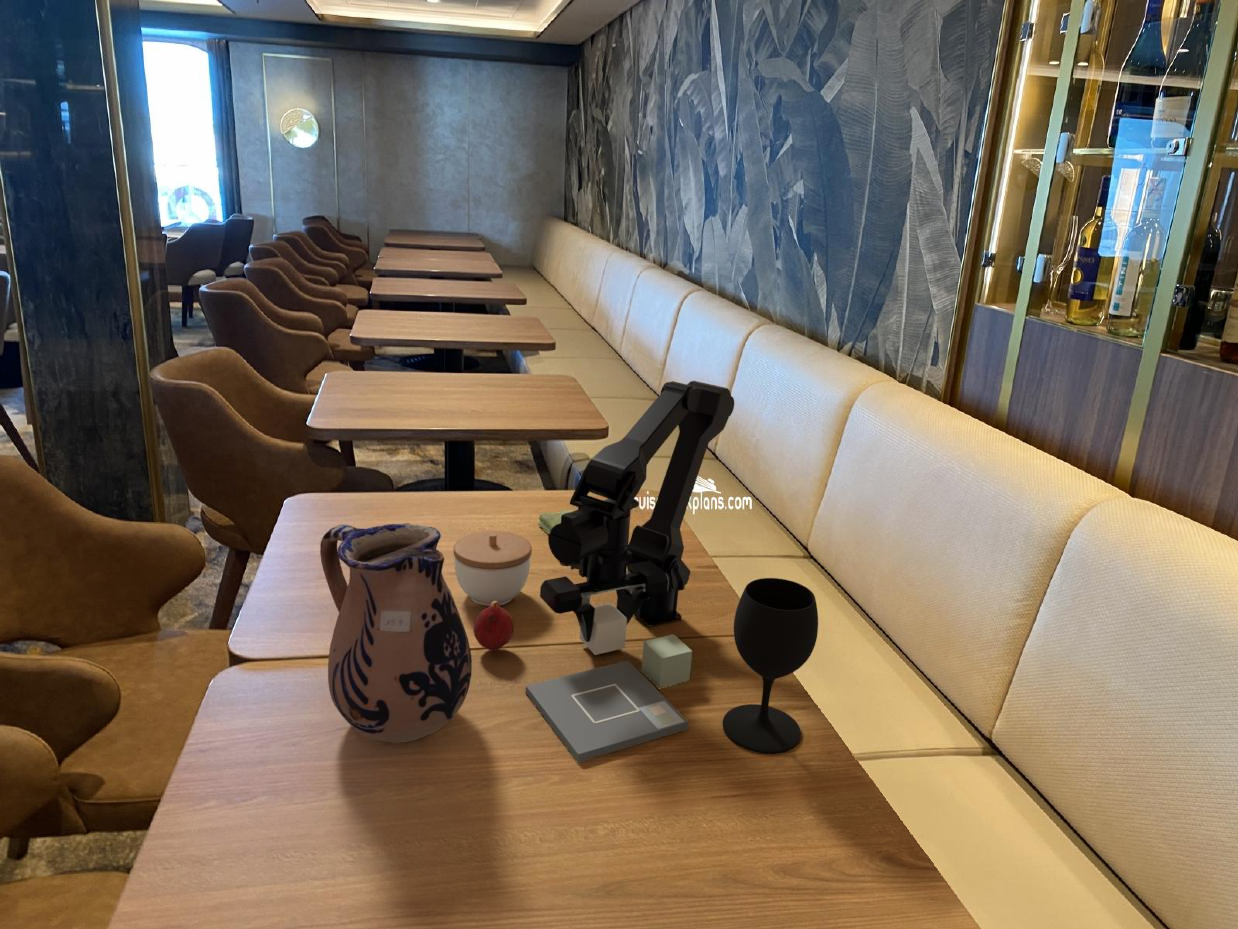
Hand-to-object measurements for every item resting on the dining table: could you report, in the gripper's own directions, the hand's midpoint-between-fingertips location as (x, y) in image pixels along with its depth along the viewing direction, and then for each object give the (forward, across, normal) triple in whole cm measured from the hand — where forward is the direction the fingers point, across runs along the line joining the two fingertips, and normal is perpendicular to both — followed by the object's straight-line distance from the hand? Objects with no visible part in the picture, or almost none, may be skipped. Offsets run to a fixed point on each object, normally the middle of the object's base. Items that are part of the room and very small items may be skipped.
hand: (602, 637), depth 131 cm
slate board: (+2, +7, +14) cm, 16 cm away
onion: (+2, +15, -6) cm, 16 cm away
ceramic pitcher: (+2, +33, +4) cm, 33 cm away
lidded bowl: (+2, +9, -22) cm, 24 cm away
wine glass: (+2, -10, +26) cm, 28 cm away
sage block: (+2, -5, +10) cm, 11 cm away
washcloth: (+3, -16, -39) cm, 42 cm away
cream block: (+1, 0, 0) cm, 1 cm away
